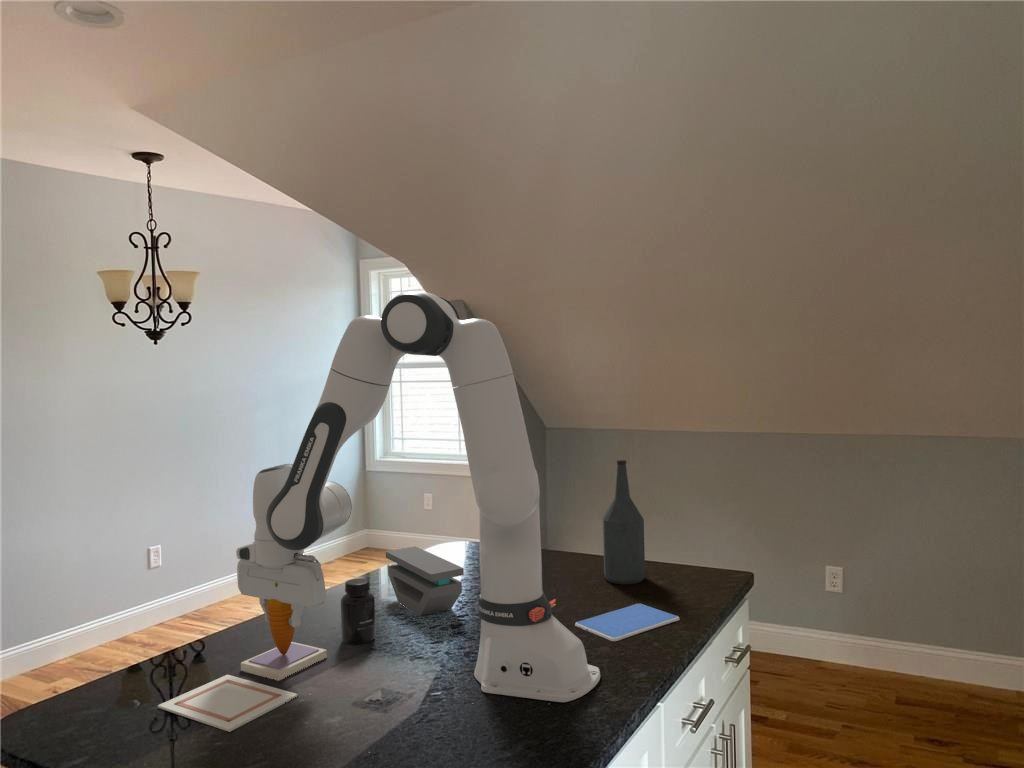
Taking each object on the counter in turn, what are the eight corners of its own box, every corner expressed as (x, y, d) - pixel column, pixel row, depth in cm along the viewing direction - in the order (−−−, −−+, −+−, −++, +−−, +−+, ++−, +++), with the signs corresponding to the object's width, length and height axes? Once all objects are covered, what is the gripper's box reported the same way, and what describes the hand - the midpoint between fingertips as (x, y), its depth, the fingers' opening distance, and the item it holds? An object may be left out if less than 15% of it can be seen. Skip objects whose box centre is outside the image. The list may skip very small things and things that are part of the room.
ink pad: (327, 657, 149) (326, 648, 149) (278, 680, 138) (278, 671, 138) (290, 648, 154) (290, 640, 154) (241, 670, 144) (240, 661, 143)
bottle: (647, 584, 189) (644, 462, 188) (607, 585, 189) (604, 463, 188) (641, 572, 199) (638, 456, 198) (602, 573, 199) (599, 457, 198)
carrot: (282, 662, 142) (279, 581, 142) (264, 657, 145) (260, 578, 145) (303, 652, 147) (299, 574, 146) (284, 648, 149) (281, 571, 149)
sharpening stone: (465, 617, 169) (463, 568, 169) (432, 624, 165) (431, 574, 165) (417, 590, 191) (415, 546, 190) (387, 596, 186) (385, 551, 186)
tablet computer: (614, 644, 152) (613, 638, 152) (572, 627, 162) (572, 621, 162) (681, 622, 163) (681, 616, 163) (639, 607, 173) (638, 602, 173)
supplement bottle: (368, 646, 154) (365, 586, 153) (336, 645, 155) (333, 585, 155) (380, 634, 160) (378, 577, 160) (350, 632, 162) (347, 576, 161)
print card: (297, 696, 132) (297, 693, 132) (229, 731, 120) (229, 728, 120) (227, 676, 141) (227, 673, 141) (157, 707, 129) (157, 704, 129)
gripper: (332, 552, 143) (335, 626, 143) (256, 541, 153) (259, 610, 154) (306, 560, 137) (309, 637, 138) (230, 549, 148) (233, 620, 148)
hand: (282, 623), depth 146 cm, fingers open, 5 cm apart
